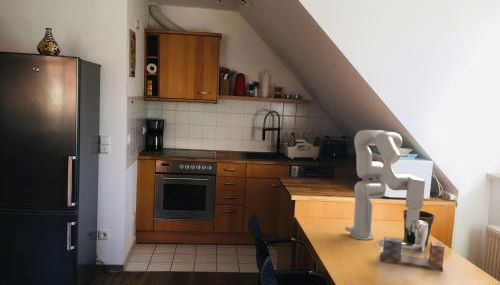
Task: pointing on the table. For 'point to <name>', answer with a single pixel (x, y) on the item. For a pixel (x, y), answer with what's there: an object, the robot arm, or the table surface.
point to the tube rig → (394, 256)
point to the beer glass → (421, 234)
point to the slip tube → (406, 246)
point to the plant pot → (422, 217)
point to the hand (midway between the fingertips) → (410, 241)
